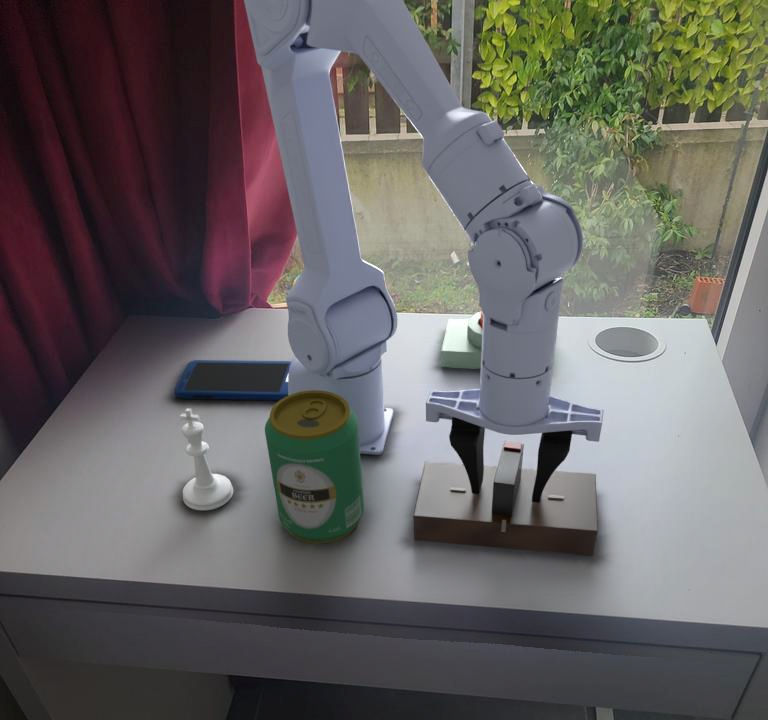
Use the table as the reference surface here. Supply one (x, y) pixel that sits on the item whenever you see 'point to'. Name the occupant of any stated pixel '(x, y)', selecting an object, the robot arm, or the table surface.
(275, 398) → the cell phone
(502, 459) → the dark grey rectangular block
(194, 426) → the chess piece
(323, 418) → the beverage can
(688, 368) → the table surface
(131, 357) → the table surface
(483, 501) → the panel
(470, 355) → the button box
